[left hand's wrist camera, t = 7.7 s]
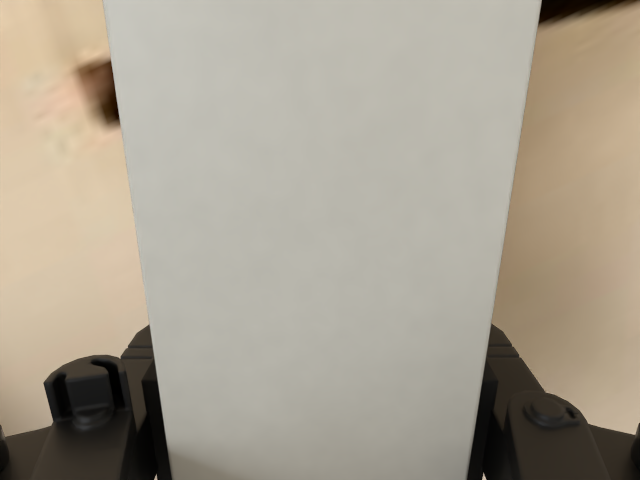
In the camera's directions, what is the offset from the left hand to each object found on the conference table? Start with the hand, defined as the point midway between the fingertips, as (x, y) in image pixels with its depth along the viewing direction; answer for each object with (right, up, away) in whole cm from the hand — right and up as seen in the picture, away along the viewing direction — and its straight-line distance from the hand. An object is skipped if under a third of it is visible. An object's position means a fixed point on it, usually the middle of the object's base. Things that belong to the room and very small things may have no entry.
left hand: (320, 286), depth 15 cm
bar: (0, +23, -8) cm, 24 cm away
